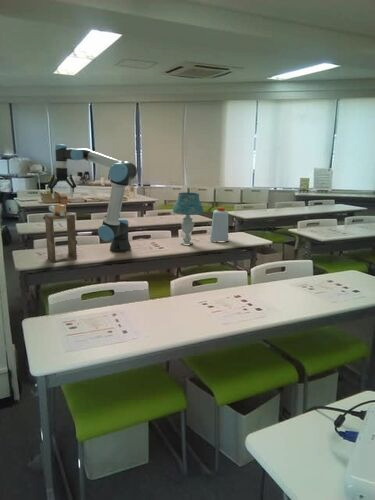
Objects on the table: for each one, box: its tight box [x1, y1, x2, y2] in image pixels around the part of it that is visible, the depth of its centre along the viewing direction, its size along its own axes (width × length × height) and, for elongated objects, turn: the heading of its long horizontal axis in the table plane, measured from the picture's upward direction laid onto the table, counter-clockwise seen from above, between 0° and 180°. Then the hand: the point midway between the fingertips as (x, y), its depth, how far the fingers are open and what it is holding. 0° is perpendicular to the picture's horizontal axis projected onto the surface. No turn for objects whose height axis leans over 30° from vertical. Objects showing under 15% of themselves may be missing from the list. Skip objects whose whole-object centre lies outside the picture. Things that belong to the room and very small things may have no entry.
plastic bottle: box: [209, 206, 229, 242], centre depth 304 cm, size 15×15×28 cm
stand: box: [44, 211, 78, 263], centre depth 241 cm, size 16×10×30 cm, turn 127°
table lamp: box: [172, 192, 204, 245], centre depth 288 cm, size 24×24×40 cm
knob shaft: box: [48, 204, 67, 216], centre depth 241 cm, size 7×22×6 cm, turn 37°
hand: (62, 197), depth 262 cm, fingers open, 13 cm apart
